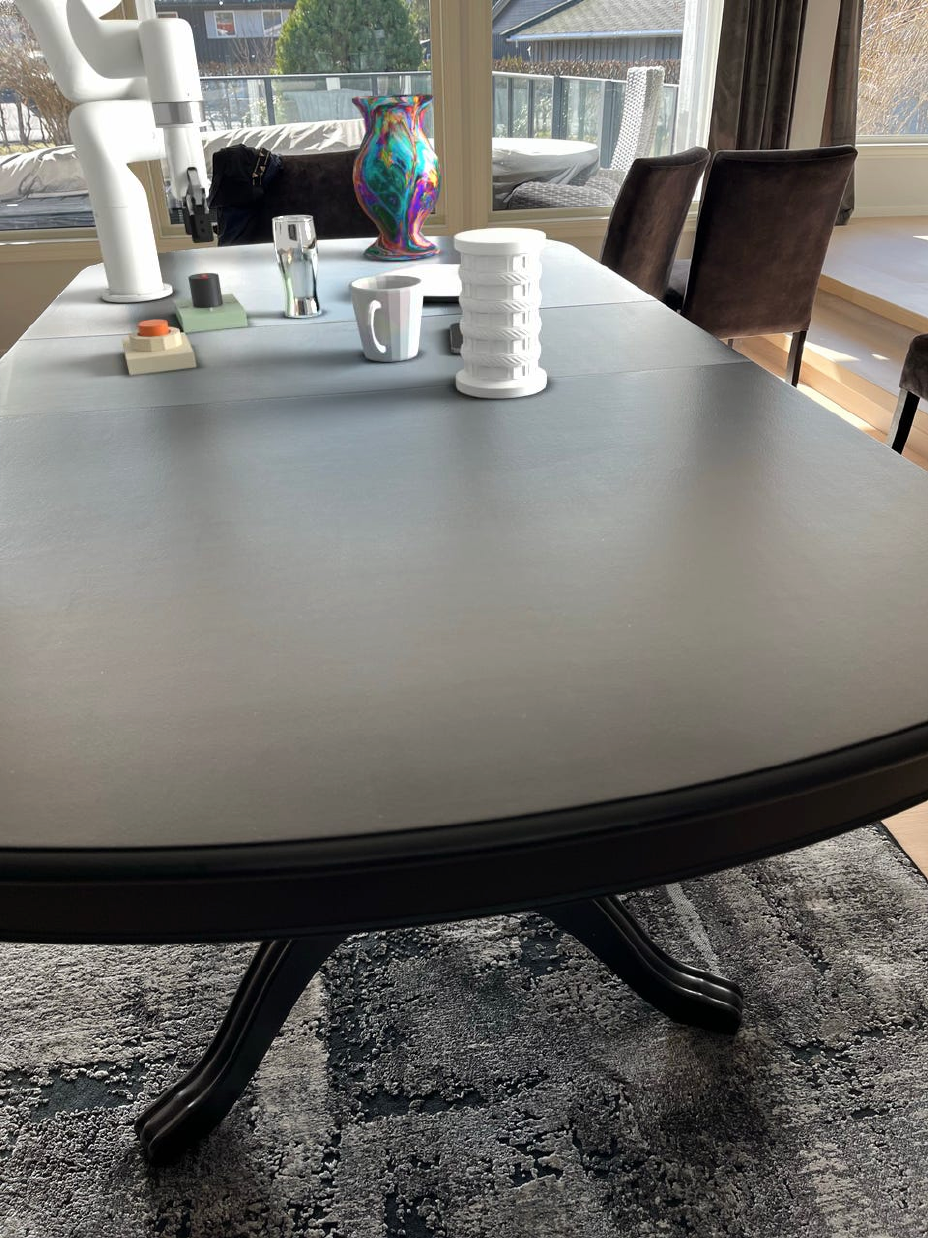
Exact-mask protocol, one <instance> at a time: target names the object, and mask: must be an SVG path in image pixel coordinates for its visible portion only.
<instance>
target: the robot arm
mask: <svg viewBox="0 0 928 1238" xmlns="http://www.w3.org/2000/svg"><path fill="white" fill-rule="evenodd" d="M12 1H13V3H14V5H15V6H16V8H17V9H18V11H19V12H20V13H21V15H22V16H23V17H24V19H25V20H26V22H27V23H28V25H29V27H30V29H31V30H32V32H33V35H34V36H35V38H36V41H37V44H38V46H39V48H40V51H41V53H42V55H43V57H44V59H45V62H46V64H47V66H48V68H49V70H50V73H51V75H52V77H53V79H54V81H55V83H56V86H57V87H58V89H59V91H60V92H61V94H62V95H63V97H64V98H65V99H67V100H68V101H69V102H71V103H76V104H78V105H77V106H76V107H74V108H73V109H72V111H71V112H70V114H69V116H68V123H67V127H68V133H69V136H70V140H71V142H72V145H73V147H74V150H75V153H76V156H77V158H78V161H79V164H80V166H81V170H82V174H83V177H84V182H85V184H86V188H87V193H88V197H89V201H90V207H91V210H92V215H93V220H94V224H95V229H96V234H97V239H98V243H99V248H100V253H101V258H102V263H103V267H104V271H105V276H106V281H107V285H108V288H105V289H103V290H102V291H101V293H100V295H101V298H102V300H103V301H106V302H109V303H140V302H148V301H154V300H159V299H162V298H165V297H169V296H170V295H172V294H173V291H174V290H173V286H172V285H171V284H169V283H164V282H163V278H162V273H161V269H160V263H159V257H158V251H157V246H156V240H155V235H154V229H153V224H152V219H151V213H150V208H149V203H148V199H147V194H146V191H145V188H144V186H143V184H142V183H141V181H140V180H139V178H138V177H136V175H135V174H134V173H133V172H132V171H131V169H130V168H129V167H128V165H127V164H131V163H137V162H138V163H139V162H147V161H148V162H151V161H157V160H162V159H163V160H164V159H166V164H167V169H168V176H169V183H170V191H171V195H172V197H174V198H175V199H176V200H177V201H179V202H181V206H182V208H181V213H182V218H183V225H184V231H185V234H186V235H187V236H191V241H192V242H193V244H204V243H213V242H214V240H215V236H214V231H213V223H212V218H211V213H209V206H208V202H207V198H208V197H209V194H210V193H209V184H208V183H209V181H208V175H207V167H206V161H205V154H204V148H203V142H202V137H201V130H200V127H206V126H207V125H208V124H207V119H206V118H207V117H206V113H205V106H204V101H203V99H204V98H203V93H202V87H201V80H200V74H199V67H198V60H197V54H196V49H195V41H194V35H193V30H192V27H191V25H190V24H189V22H188V21H187V20H185V19H182V18H178V17H157V18H156V17H155V18H146V19H100V18H102V16H104V15H106V14H108V13H109V12H111V11H112V10H114V9H115V8H116V7H117V6H119V5H120V3H121V2H122V0H12Z"/></svg>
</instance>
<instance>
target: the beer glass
mask: <svg viewBox="0 0 928 1238" xmlns="http://www.w3.org/2000/svg"><path fill="white" fill-rule="evenodd" d="M271 221H272V240H273V249H274V250H273V251H274V256H275V261H276V264H277V268H278V271H279V274H280V278H281V281H282V286H283V289H284V297H285V298H284V299H285V301H284V302H285V303H284V316H285V317H287V318H291V319H308V318H314V317H317V316H320V315H321V314H322V313H323V312H322V311H323V310H322V307H321V304H320V300H319V296H318V285H317V284H318V269H319V268H318V266H319V265H318V264H319V248H318V237H317V231H316V226H315V221H314V216H313V215H309V214H291V215H290V214H289V215H281V216H280V215H279V216H275V217H273V218H272V219H271Z"/></svg>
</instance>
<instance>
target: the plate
mask: <svg viewBox="0 0 928 1238" xmlns="http://www.w3.org/2000/svg"><path fill="white" fill-rule="evenodd" d="M459 265H460V263H458V264H457V263H455V264H454V263H453V264H452V263H449V264H447V263H446V264H444V263H443V264H440V263H439V264H438V263H435V264H410V265H405V266H402V267H397V268H394V269H390V270H385V271H383V272H381V273H380V272H379V273H378V274H375V275H374V276H382V275H406V276H413V277H417V278H420V279H422V280H423V281H424V292H423V302H445V303H446V302H459V295H460V292H461V291H462V284H461V280H460V279H459V275H458V269H459Z"/></svg>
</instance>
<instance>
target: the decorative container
mask: <svg viewBox="0 0 928 1238" xmlns="http://www.w3.org/2000/svg"><path fill="white" fill-rule="evenodd" d="M545 246H546V233H545V232H544V231H542V230H538V229H532V228H522V227H491V228H480V229H479V228H478V229H472V230H471V229H470V230H466V231H462V232H458V233H456V234H454V235H453V248H454V250H455V251H457V252H459V253H460V263H459V269H458V275H459V279H460V280H461V284H462V291H461V292H460V295H459V301H458V302H459V306H460V308H461V311H462V312H461V313H462V315H461V318H460V319H459V321H460V322H459V323H460V330H461V333H462V334H463V344H462V346H461V352H460V353H459V354H460V356H461V359H462V360H463V368H462V369H460V370H459V371H458V372H457V373H456V374H455V387H456V389H457V390H458V391H459V392H461V393H462V394H465V395H468V396H471V397H477V398H483V399H514V398H520V397H526V396H530V395H534V394H536V393H538V392H541V391H542V390H543V389H545V388H546V385H547V372H546V371H545V370H544V369H542V368H541V367H540V366H539V358H540V356H541V353H542V347H541V343H540V341H539V333H540V331H541V328H542V320H541V317H540V315H539V307H540V305H541V302H542V298H543V296H542V291H541V290H540V287H539V285H540V283H539V282H540V279H541V277H542V271H543V268H542V263H541V261H540V251H541V250H542V249H544V248H545Z"/></svg>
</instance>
